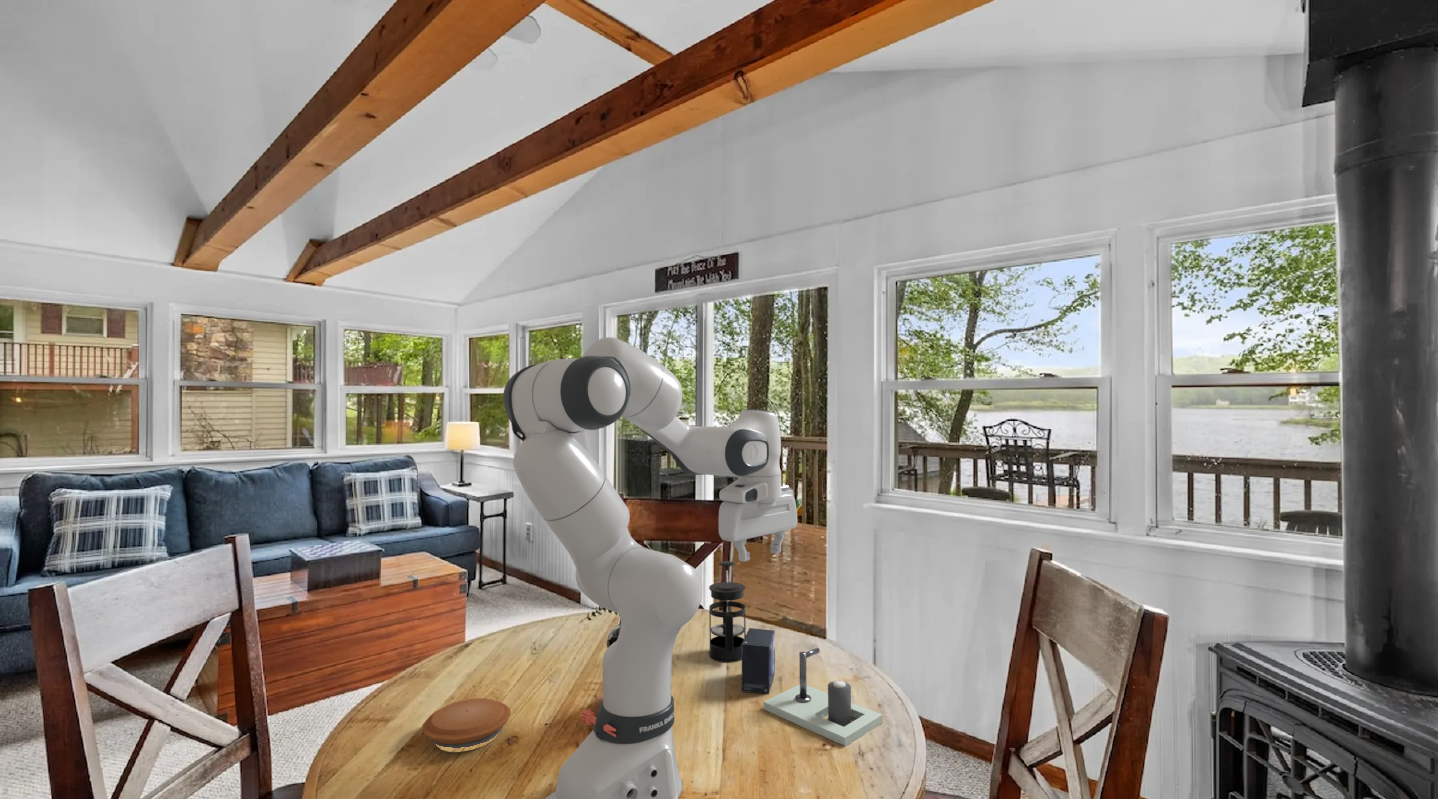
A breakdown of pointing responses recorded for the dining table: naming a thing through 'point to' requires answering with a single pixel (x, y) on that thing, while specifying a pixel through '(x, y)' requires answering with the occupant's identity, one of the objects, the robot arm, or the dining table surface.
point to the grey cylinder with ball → (839, 703)
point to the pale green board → (822, 715)
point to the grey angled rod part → (804, 676)
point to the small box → (758, 661)
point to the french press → (726, 620)
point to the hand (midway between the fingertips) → (760, 556)
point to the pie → (466, 722)
